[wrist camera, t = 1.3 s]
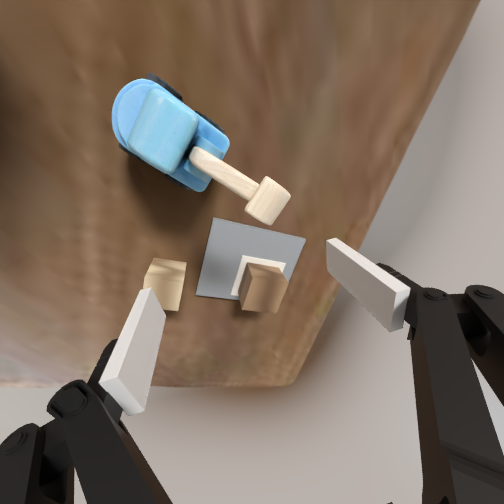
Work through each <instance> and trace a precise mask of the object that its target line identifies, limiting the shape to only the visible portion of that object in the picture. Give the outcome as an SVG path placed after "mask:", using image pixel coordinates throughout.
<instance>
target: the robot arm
mask: <svg viewBox="0 0 504 504" xmlns="http://www.w3.org/2000/svg"><path fill="white" fill-rule="evenodd" d="M326 247H327V271H328V272H329V273H330V274H331V275H332V276H333V277H334V278H335V279H336V280H337V281H338V282H339V283H340V284H341V285H342V286H343V287H344V288H345V289H346V290H347V291H348V292H350V294H351V295H353V296H354V297H355V298H356V299H357V300H358V301H359V302H360V303H361V304H362V305H363V306H364V307H365V308H366V309H367V310H368V311H369V312H370V313H371V314H372V315H373V316H374V317H375V318H376V319H377V320H378V321H379V322H380V323H381V324H382V325H383V326H384V327H385V328H386V329H387V330H388V331H389V332H392V331H395V330H398V329H401V328H403V323H404V320H405V321H406V322H407V323H408V324H410V328H409V333H408V337H407V340H410V344H411V355H412V365H413V375H414V386H415V397H416V408H417V419H418V430H419V440H420V451H421V462H422V473H423V492H422V504H504V455H503V452H502V449H501V446H500V443H499V440H498V437H497V434H496V431H495V428H494V425H493V422H492V419H491V417H490V413H489V410H488V407H487V404H486V401H485V399H484V395H483V392H482V389H481V386H480V383H479V380H478V377H477V374H476V371H475V368H474V365H473V362H472V360H473V361H474V363H475V364H476V366H477V367H478V369H479V370H480V372H481V373H482V375H483V376H484V378H485V379H486V381H487V382H488V384H489V385H490V387H491V388H492V389H493V391H494V393H495V394H496V396H497V397H498V399H499V400H500V402H501V403H502V405H503V406H504V294H503V293H501V292H499V291H498V290H496V289H494V288H491V287H488V286H483V285H470V286H468V287H467V288H466V290H465V293H464V294H447V293H445V292H444V291H441V290H439V289H435V288H423V287H421V286H419V285H418V284H416V283H415V282H413V281H411V280H410V279H408V278H407V277H405V276H404V275H401V274H400V273H399V272H396V270H394V269H393V268H391V267H389V266H387V265H384V264H381V263H378V264H374V263H372V262H371V261H369V260H368V259H367V258H365V257H364V256H362V255H360V254H359V253H358V252H356V251H355V250H353V249H352V248H350V247H349V246H347V245H346V244H344V243H343V242H341V241H340V240H338V239H337V238H333V239H329V240H326ZM165 319H166V315H165V313H164V311H163V309H162V307H161V305H160V303H159V301H158V299H157V297H156V295H155V293H154V291H153V289H152V287H151V288H147V289H143V290H140V292H139V294H138V297H137V299H136V301H135V303H134V305H133V308H132V310H131V312H130V314H129V317H128V319H127V321H126V323H125V325H124V328H123V330H122V332H121V334H120V336H119V338H118V339H115V340H112V341H111V342H110V343H109V344H108V345H107V346H106V348H105V349H104V351H103V353H102V355H101V357H100V359H99V361H98V363H97V366H96V367H95V369H94V371H93V373H92V375H91V377H90V379H89V381H88V383H87V384H86V383H85V382H84V381H83V380H75V381H72V382H70V383H68V384H67V385H65V386H63V387H62V388H61V389H60V390H59V391H57V392H56V394H55V395H54V396H53V397H52V398H51V400H50V401H49V403H48V405H47V412H48V413H49V414H51V415H52V416H53V417H54V418H55V419H54V420H52V421H50V422H49V423H47V424H45V425H43V426H42V427H39V426H37V425H36V424H34V423H30V424H26V425H24V426H22V427H20V428H18V429H17V430H16V431H14V432H13V433H12V434H10V435H9V436H8V437H7V438H6V439H5V440H4V441H3V442H2V444H1V445H0V504H74V466H75V469H76V472H77V475H78V478H79V481H80V484H81V487H82V490H83V493H84V496H85V499H86V501H87V504H173V503H172V502H171V500H170V499H169V497H168V495H167V493H166V492H165V490H164V489H163V487H162V485H161V484H160V482H159V481H158V479H157V477H156V476H155V474H154V473H153V471H152V469H151V468H150V466H149V464H148V463H147V461H146V459H145V458H144V456H143V455H142V453H141V451H140V450H139V448H138V446H137V445H136V443H135V442H134V440H133V438H132V437H131V435H130V434H129V432H128V430H127V429H126V427H125V426H124V424H123V422H122V421H121V420H120V417H121V414H122V411H124V412H125V413H126V414H127V415H128V416H131V415H134V414H137V413H140V412H143V411H145V407H146V402H147V398H148V393H149V389H150V385H151V380H152V376H153V372H154V367H155V363H156V358H157V354H158V350H159V345H160V341H161V336H162V332H163V328H164V323H165ZM471 358H472V359H471ZM388 504H393V503H392V502H390V503H388Z"/></svg>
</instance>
